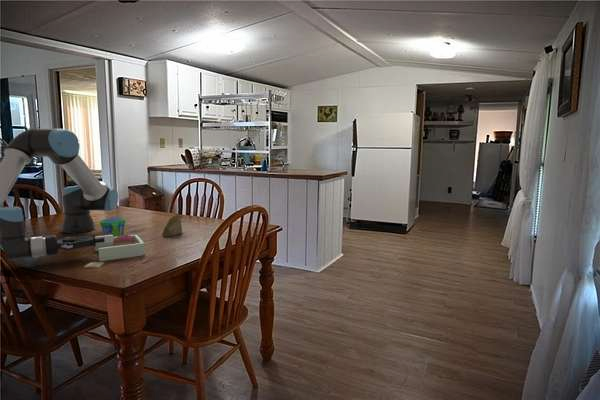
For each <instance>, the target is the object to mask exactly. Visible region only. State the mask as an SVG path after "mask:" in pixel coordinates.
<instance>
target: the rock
mask: <svg viewBox="0 0 600 400" xmlns="http://www.w3.org/2000/svg"><path fill="white" fill-rule="evenodd" d="M182 234H183V228H182V219H181V216H180V214H179V215H178V214H177V215H173V216H172V217H170V218H169V219H168V222H167V223H166V224H165V227H164V228H163V231H162V234H161V236H163V237H171V236H176V235H182Z"/></svg>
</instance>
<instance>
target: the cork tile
mask: <svg viewBox="0 0 600 400" xmlns="http://www.w3.org/2000/svg"><path fill="white" fill-rule="evenodd" d="M104 265H105V261H99V262H98V261H97V262H96V261H95V262H94V261H93V262H89V263H87V264H86V265H85V266H84V269H100V268H101V267H102V266H104Z"/></svg>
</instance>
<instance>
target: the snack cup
mask: <svg viewBox="0 0 600 400" xmlns="http://www.w3.org/2000/svg"><path fill="white" fill-rule="evenodd" d="M126 222H127V221H126V219H125V218H123V217H122V218H121V217H114V218H105V219H101V220H100V222H99V224H100V226H101V230H102V233H103V236H105V235H113V237H118V236H120V235H125V223H126Z"/></svg>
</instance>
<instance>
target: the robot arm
mask: <svg viewBox="0 0 600 400" xmlns="http://www.w3.org/2000/svg"><path fill="white" fill-rule="evenodd" d="M79 142H80V141H79V138H78V137H77V135H76V133H74V132H73V131H71V130H70V129H68V128H67V129H65V128H28V129H26V130H24V131H22V132H20V133H19V134H17V136H15V137H14V138H13V139H12V140H11V141H10V142H9V143H8V144H7V146H6V147H5V149H4V151H3V154H4V157H3V158H2V160H1V161H0V247H1V249H2V250H4V251H5V252H6V253H7V255H8V256H9V257H10V258H11V259H12V260H11V261H15V260H21V259H28V258H35V259H38V258H39V257H45V255H47V256H53V255H57V254H58V252H59V251H58V250H64V251H65V250H66V251H70V250H75V249H81V248H87V247H93V246H94V247H95V246H96V244H99V243H108V242H113V235H105V236H104V235H97V236H95V234H92V235H86V236H85V235H84V236H83V235H82V236H81V235H80V236H65V237H63V238H60V239H58V237H57V235H56V234H54V235H53V234H52V235H51V234H50V235H45V237H44V236H43V235H41V236H33V237H26V234H25V231H26V230H25V220H24V219H25V218H24V215H23V213H24V212H23V209H22V208H21V207H19V206H4V207H2V206H3V204H4V202H5V201H6V199H7V197H8V195H9V194H10V192H11V190H12V188H13V187H14V186H15V183H16V182H17V180H18V178H19V176H20V175H21V173H22V171H23V170H24V168H25V166H26V165H29V164H30V163H31V162H32V159H34V158H36V157H44V158H45V157H47V158H48V159H50V161H51V162H52V163H53V164H54V165H56V166H60V167H61V168H62V169H63V170H64V171H65V172H66V174H67V175H68V176H69V177H70V178H71V179H72V180H73V181H74V183H75V184H77V185H73V186H66V187H64V188H62V193H61V194H62V195H61V196H62V205H63V206H62V207H63V216H64V217H63V221H62V223H61V226H60V227H61V228H60V230H61V232H62V233H64V234H65V233H66V234H78V233H85V232H90V231H93V230H95V229H96V228H95V227H96V225H95V222H94V220H93V218H92V215H91V211H98V212H99V211H100V212H103V211H104V212H108V211H113V210H115V208H116V207H117V206H118V205H117V204H118V202H119V193H118V190H117V189H116V188H115V187H109V186H108V185H107V184H106V183H105V181H101V180H99V179H98V178H97V176H96V175H95V174H94V173H93V171H92V170H91V169H90V167H89V166H88V165H87V163H86V162H85V161H84V160H83V158H82V157H81V156H80V147H81V145H80V143H79Z"/></svg>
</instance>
